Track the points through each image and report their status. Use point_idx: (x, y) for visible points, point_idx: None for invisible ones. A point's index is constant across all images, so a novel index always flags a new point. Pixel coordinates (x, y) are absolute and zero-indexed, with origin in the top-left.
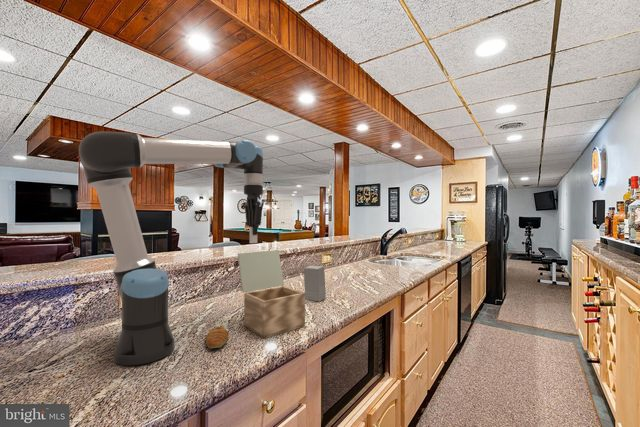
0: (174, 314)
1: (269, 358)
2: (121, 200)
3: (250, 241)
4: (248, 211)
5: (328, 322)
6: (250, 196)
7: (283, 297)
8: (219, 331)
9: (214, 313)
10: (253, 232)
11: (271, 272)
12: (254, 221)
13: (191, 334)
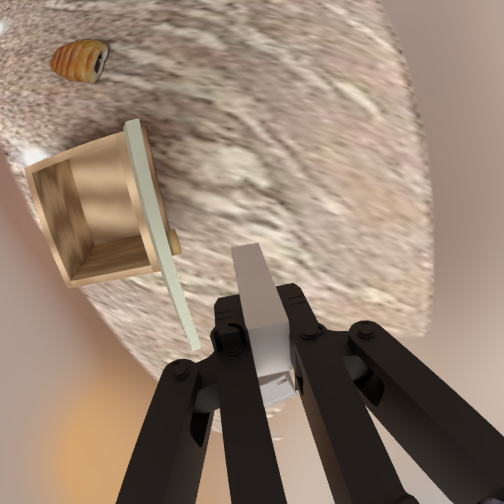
0: (331, 10)
1: (3, 147)
2: None
3: (244, 251)
4: (444, 457)
5: (100, 295)
6: None
7: (44, 226)
8: (71, 63)
9: (286, 83)
10: (228, 310)
11: (157, 257)
12: (178, 397)
13: (163, 15)
